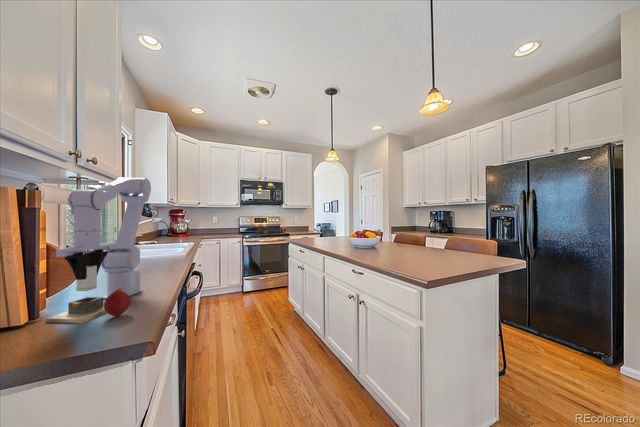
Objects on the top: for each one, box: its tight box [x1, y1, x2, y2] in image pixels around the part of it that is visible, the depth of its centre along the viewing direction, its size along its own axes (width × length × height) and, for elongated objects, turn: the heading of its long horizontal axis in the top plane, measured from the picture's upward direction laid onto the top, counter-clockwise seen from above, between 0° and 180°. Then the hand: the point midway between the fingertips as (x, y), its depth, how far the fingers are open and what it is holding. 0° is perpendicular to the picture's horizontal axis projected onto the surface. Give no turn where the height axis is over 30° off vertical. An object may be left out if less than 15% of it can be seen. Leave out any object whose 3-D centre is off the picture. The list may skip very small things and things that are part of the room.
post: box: [75, 265, 98, 292], centre depth 72 cm, size 3×3×7 cm
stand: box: [45, 296, 108, 324], centre depth 71 cm, size 12×10×4 cm
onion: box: [103, 288, 132, 317], centre depth 70 cm, size 6×6×8 cm
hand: (86, 277), depth 72 cm, fingers closed on post, 3 cm apart
